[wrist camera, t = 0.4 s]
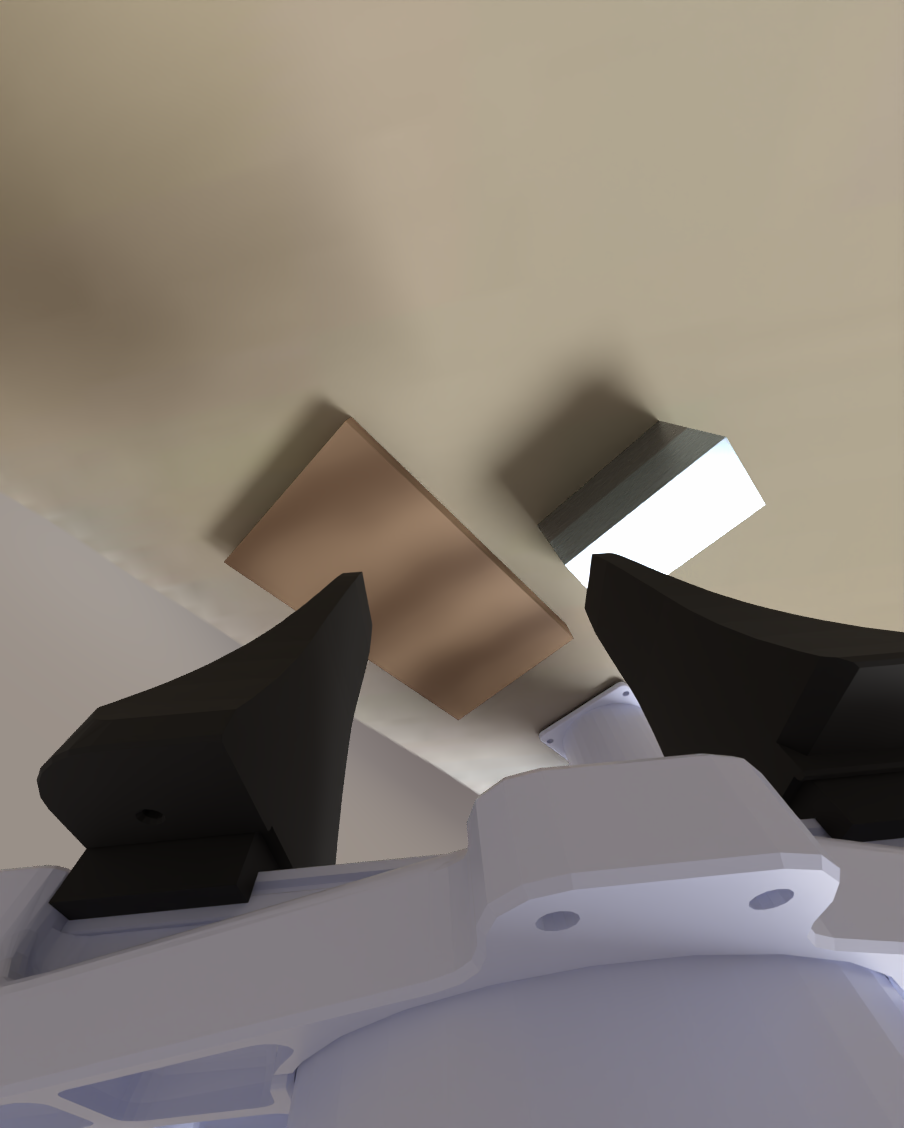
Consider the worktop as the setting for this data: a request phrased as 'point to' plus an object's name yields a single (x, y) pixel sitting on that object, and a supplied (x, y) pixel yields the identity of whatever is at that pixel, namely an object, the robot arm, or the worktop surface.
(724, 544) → the worktop surface
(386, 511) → the stand
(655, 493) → the block
